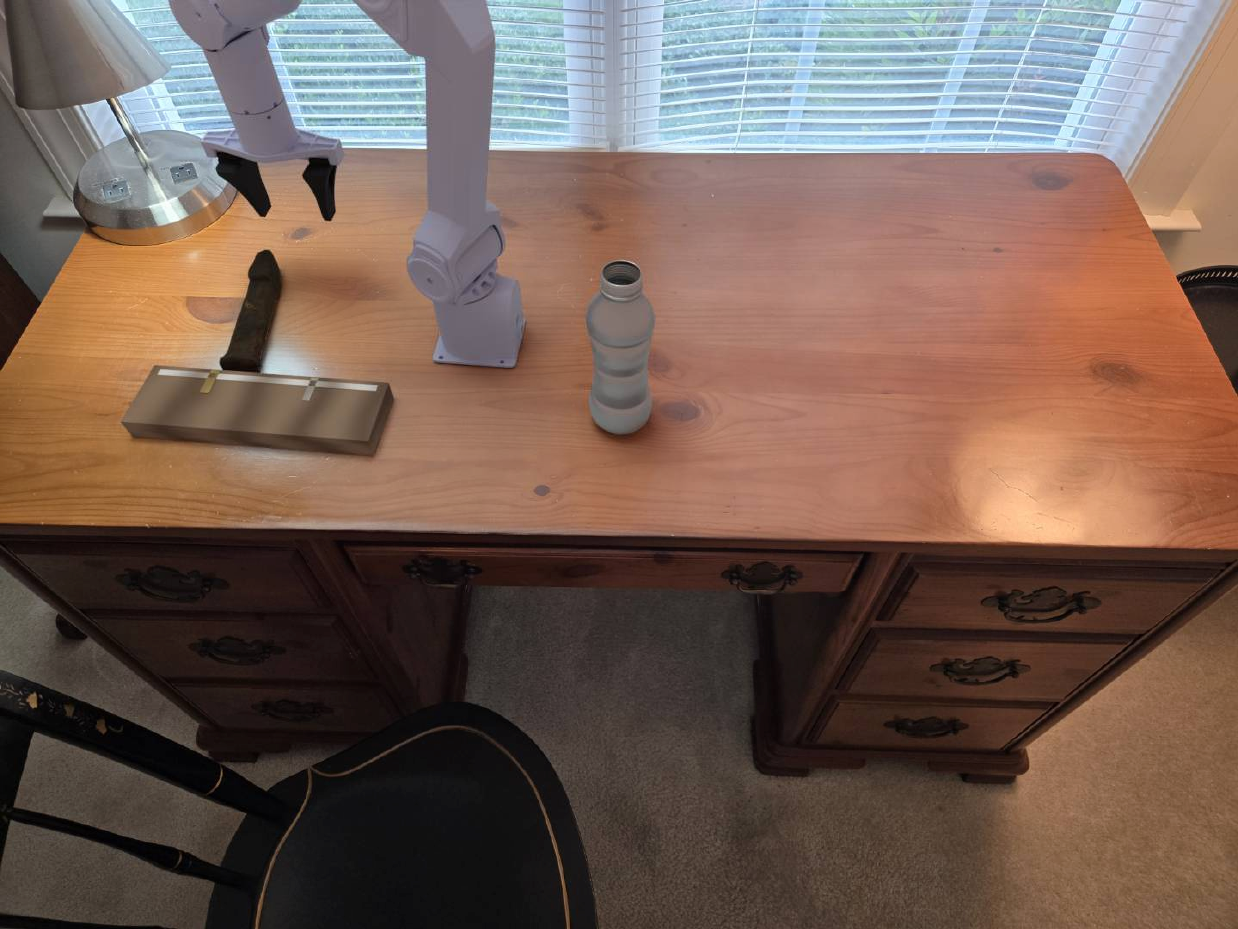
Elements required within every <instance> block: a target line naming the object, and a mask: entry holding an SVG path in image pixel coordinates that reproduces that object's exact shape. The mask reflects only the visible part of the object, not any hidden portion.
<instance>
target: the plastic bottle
mask: <svg viewBox="0 0 1238 929" xmlns="http://www.w3.org/2000/svg"><path fill="white" fill-rule="evenodd" d="M598 285H599V291H598V292H597V293H596V294H595V295H594V296H593V297H592V298H591V300H589V303H588V306H587V309H586V311H585V324H586V329H587V333H588V338H589V343H590V346H591V353H592V360H593V361H592V363H593V374H592V385H591V388H590V392H589V401H588V406H589V410H590V414H591V416H592V419H593V420H594V422H595V423H596V424H597V425H598V426H599V427H600V428H601V429H603V430H604V431H606V432H608V433H611V434H614V435H620V436H621V435H629V434H632V433H634V432H637V431H638V430H640V429H641V428H643V427H644V426H645V425H646V424H647V422H648V420H649V418H650V415H651V411H652V408H653V400H652V394H651V389H650V387H649V376H648V364H649V362H648V361H649V355H650V354H649V352H650V347H651V343H652V339H653V336H654V331H655V325H656V314H655V311H654V308H653V305H652V304H651V302H650V300H649V299H648V297H646V296H645V294H644V293H643V291H644V289H643V288H644V283H643V271H642V269H641V267H640V266H639V264H636V263H635V262H633V261H630V260H627V259H626V260H625V259H616V260H615V259H614V260H610V261H609V262H607V263H605V264H604V265H603V266H602V268H601V270H600V281H599V284H598Z"/></svg>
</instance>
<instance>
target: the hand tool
mask: <svg viewBox="0 0 1238 929" xmlns="http://www.w3.org/2000/svg"><path fill="white" fill-rule="evenodd" d="M247 278H248V280H249V282H248V285H247V289H246V290H247V291H246V293H245V294H246V295H245V298H244V299H243V302H242V305H241V308H240V310H239V313H238V317H237V319H236V322H235V325H234V328H233V331H232V335H231V339H230V341H229V345H228V347H227V350H226V353H225V354H224V355H223V356H221V357H220V358H219V366H220V367H221V370H227V371H240V372H254V373H261V372H260V369H261V367H262V358H261V357H262V354H263V351H264V348H265V345H266V341H267V340H266V338H267V335H268V333H269V332H270V327H271V326H270V324H271V322H272V318H273V313H274V309H275V306H276V303H277V301H279V300H280V299H281V296H282V288H283V285H282V275H281V270H280V266H279V264H278V262H277V259H276V257H275V255H274V253H273V252H272V251H271V250H270V249H263V250H261V251H259V252H256V255H255V257H254V259H253V261H252V263H251V264H250V266H249V268H248V271H247Z"/></svg>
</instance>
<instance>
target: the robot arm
mask: <svg viewBox="0 0 1238 929" xmlns="http://www.w3.org/2000/svg"><path fill="white" fill-rule="evenodd" d="M352 1H353V3H355V5H356V6H357V7H358V8H360V10H361V11H362V12H363V13H365V15H366V16H367V17H369V19H371V20H372V21H373V22H374V23H375V24H376V25H377V26H378V27H379V28H380V29H381V30H382V31H383V32H385V33H386V34H387V35H388V36H389V37H390V38H391V40H393V41H394V42H395V43H396V44H397V45H398V46H399V47H400V48H401V49H402V50H403V51H405V53H407V55H409V56H413V57H419V58H423V60H424V63H425V64H424V70H425V73H424V74H425V76H424V77H425V78H424V79H425V121H426V122H425V125H426V126H425V127H426V131H425V132H426V134H425V135H426V184H427V185H426V186H427V188H426V189H427V190H426V192H427V198H426V199H427V209H426V212H425V214H424V215H423V216H424V217H423V218H422V220H421V222H420V223H419V226H418V228H417V230H416V232H415V234H414V236H413V238H412V250H411V252H410V254H408V256H407V258H406V260H405V266H406V272H407V274H408V277H409V279H410V281H411V283H412V284H413V285H414V287H415V288H416V289H417V291H419V292H420V294H422V295H423V296H424V297H426V298H427V299H428V300H430V301H431V303H432V306H433V310H434V315H435V319H436V323H437V328H438V331H439V335H438V338H437V342H436V345H435V348H434V352H433V355H432V361H433V363H438V364H439V363H442V364H453V365H454V364H455V365H469V366H483V367H493V368H507V369H508V368H510V369H511V368H514V367H516V365H517V360H518V356H519V352H520V348H521V342H522V339H523V335H524V329H525V327H526V318H525V316H524V310H523V309H524V308H523V301H522V300H523V299H522V292H521V286H520V282H519V279H516V278H512V277H507V276H505V275H502V274H500V273H498V272H497V270H498V269H499V264H498V259H497V258H499V257H501V256H502V255H503V253H504V252H505V249H506V242H507V241H506V237H505V234H504V231H503V228H502V224H501V210H500V209H499V208H498V206H496V205H495V204H494V203H492V202H491V201H490V200H489V199H487V192H488V191H487V190H488V187H487V186H488V172H489V160H490V159H489V156H490V141H491V124H492V113H493V112H492V108H493V107H492V106H493V95H494V79H495V78H494V77H495V66H496V65H495V62H496V49H497V48H496V36H495V31H494V30H495V29H494V26H493V23H492V18H491V15H490V11H489V8H488V4H487V0H352ZM302 2H303V0H168V6H169V7H170V11H171V13H172V14H173V16H174V19H175V20H176V22H177V24H178V25H179V27H180V28H181V30H182V31H183V33H185V35H187V37H188V38H190V39H191V41H193V42H194V43H195V44H197V45H198V46H199V47H201V50H202V52H203V55H204V58H205V59H206V61H207V64H208V66H209V68H210V72H211V74H212V76H213V78H214V79H213V80H214V81H215V83H216V84H215V85H217V88H218V90H219V93H220V96H221V99H222V101H223V103H224V105H225V107H226V110H227V113H228V115H229V117H230V120H231V123H232V124H233V127H234V128H233V129H229V130H220V131H219V130H218V131H217V130H216V131H215V130H214V131H212V130H210V131H209V130H207V131H206V133H205V134H204V136H203V137H202V138H201V140H200V141H199V142H200V144H201V146H202V149H203V151H204V153H205V155H206V157H207V158H211V159H216V158H218V159H217V162H218V163H217V164H216V166H215V169H214V170H215V172H216V174H217V175H218V177H220V178H222V179H223V180H224V181H226V182H227V183H229V184H230V185H231V186H232V187H234V189H235V190H236V191H237V192H239V193H240V194H241V195H242V196H243V198H244V199H245V200H246V201H247V202H248V203H249V205H250V206H251V207H252V209H253V210H254V211H255V212H256V214H257V215H258V216H259V218H266V216H267V215H268V213H269V212H270V210H271V208H272V203H271V200H270V196H269V194H268V191H267V188H266V186H265V184H264V181H263V179H262V175H261V171H260V167H259V164H273V163H278V162H280V163H281V162H285V161H286V162H287V161H292V160H293V161H294V160H304V161H308V164H307V165H306V166H305V169H304V170H303V173H302V174H301V177H302V179H303V181H304V182H305V183H306V184H307V186H308V187H309V188H310V191H311V192H312V193H313V195H314V198H315V200H316V203H317V205H318V208H319V211H320V214H321V217H322V218H323V220H324V221H325V222H332V221H333V218H334V216H335V214H336V212H337V211H336V210H337V208H336V197H335V195H336V194H335V186H336V175H337V169H338V166H340V165H341V163H342V161H343V160H344V157H345V151H344V149H343V145H342V142H341V139H340V138H333V137H327V136H323V135H321V134H317V133H313V132H310V131H306V130H304V129H300V128H297V127H296V125H295V122H294V120H293V117H292V114H291V111H290V109H289V106H288V102H287V100H286V97H285V94H284V90H283V88H282V85H281V83H280V82H281V81H280V79H279V77H278V73H277V71H276V69H275V66H274V65H275V64H274V63H273V60H272V57H271V54H270V51H269V48H268V45H269V43H270V40H271V37H270V34H269V31H268V28H267V24H270V23H272V22H274V21H277V20H279V19H281V18H283V17H285V16H287V15H290V14H291V13H294V12H295V11H296V10H297V9H298V8H299V7H300V5H301V3H302ZM258 163H259V164H258Z"/></svg>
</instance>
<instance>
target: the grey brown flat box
mask: <svg viewBox="0 0 1238 929" xmlns="http://www.w3.org/2000/svg"><path fill="white" fill-rule="evenodd" d="M136 393H137V394H136V395H135V397H134V398H133V400H132V401H131V403H130V405H129V407H128V408H127V410H126V411H125V414H124V415H123V417H122V419H121V420H120V423H121V424H122V426H123V427H124V428H125V429H126V431H127V432H128V433H129V434H130V436H132V437H133V438H143V439H144V438H145V439H158V440H169V441H180V442H181V441H183V442H195V443H209V444H218V445H219V444H220V445H229V446H231V445H232V446H243V447H244V446H245V447H246V446H247V447H258V448H272V449H282V450H283V449H284V450H292V451H293V450H294V451H296V450H297V451H306V452H307V451H309V452H322V453H333V454H334V453H335V454H346V455H356V456H370V457H371V456H372V457H374V456H375V454H376V451H377V448H378V445H379V442H380V439H381V437H382V434H383V431H384V427H385V425H386V422H387V419H388V416H389V414H390V410H391V408H392V404H393V401H394V398H395V397H394V394H393V391H392V388H391V385H390V383H389V382H384V381H372V380H371V381H369V380H359V379H346V378H345V379H344V378H330V377H319V376H316V377H315V376H306V375H291V374H290V375H289V374H277V373H266V372H260V373H254V372H240V371H227V370H222V369H212V368H200V367H199V368H198V367H197V368H196V367H187V366H174V365H173V366H171V365H158V364H154V365H153V366H152V368H151V370H150V372H149V374H148V375H147V377H146V379H145V380H144V381H143V384H142V385H141V386H140V388H139V391H138V392H136Z"/></svg>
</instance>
